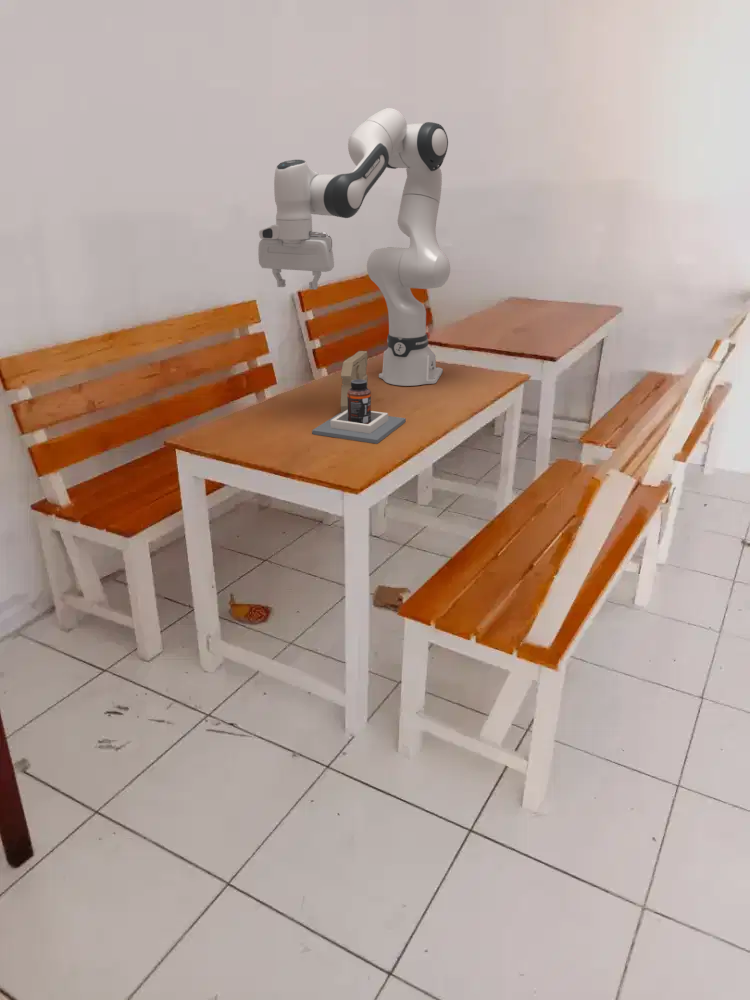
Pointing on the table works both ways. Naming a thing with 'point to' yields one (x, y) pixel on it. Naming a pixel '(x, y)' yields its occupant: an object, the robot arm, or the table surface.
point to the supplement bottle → (359, 402)
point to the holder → (360, 427)
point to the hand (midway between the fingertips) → (297, 288)
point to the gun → (352, 374)
